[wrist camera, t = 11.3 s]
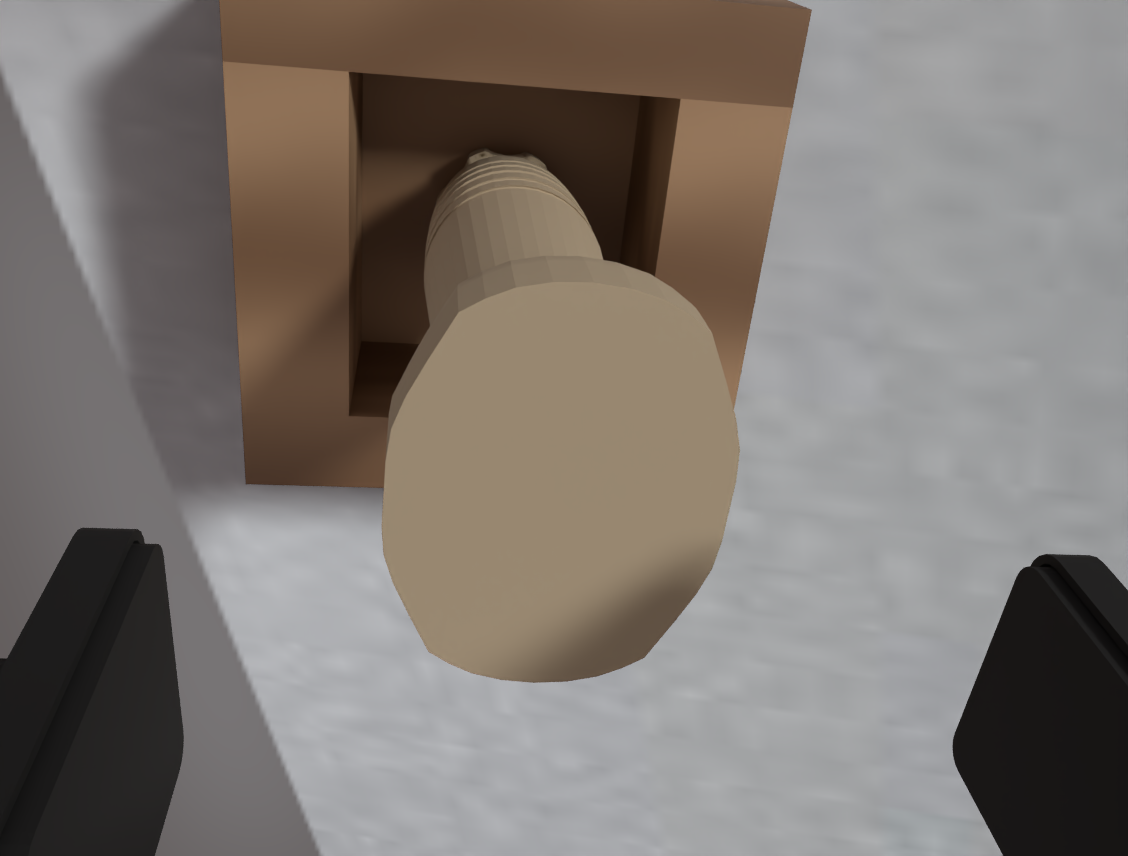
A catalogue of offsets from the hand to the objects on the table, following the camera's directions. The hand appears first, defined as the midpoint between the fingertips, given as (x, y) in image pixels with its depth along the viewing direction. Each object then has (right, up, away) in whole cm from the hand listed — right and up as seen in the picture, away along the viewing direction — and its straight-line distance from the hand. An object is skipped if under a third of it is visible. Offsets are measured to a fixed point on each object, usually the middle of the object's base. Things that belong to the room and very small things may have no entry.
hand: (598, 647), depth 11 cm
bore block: (-2, +9, +18) cm, 20 cm away
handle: (-2, +8, +16) cm, 18 cm away
